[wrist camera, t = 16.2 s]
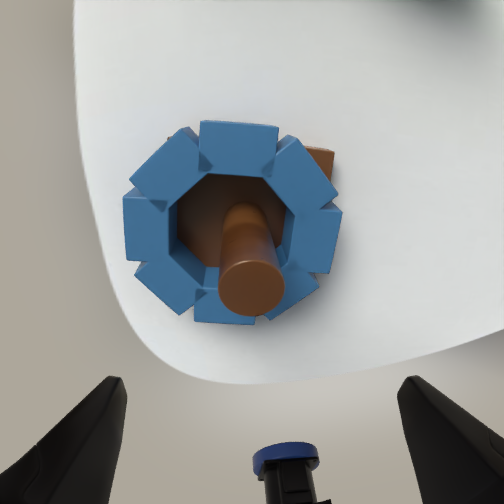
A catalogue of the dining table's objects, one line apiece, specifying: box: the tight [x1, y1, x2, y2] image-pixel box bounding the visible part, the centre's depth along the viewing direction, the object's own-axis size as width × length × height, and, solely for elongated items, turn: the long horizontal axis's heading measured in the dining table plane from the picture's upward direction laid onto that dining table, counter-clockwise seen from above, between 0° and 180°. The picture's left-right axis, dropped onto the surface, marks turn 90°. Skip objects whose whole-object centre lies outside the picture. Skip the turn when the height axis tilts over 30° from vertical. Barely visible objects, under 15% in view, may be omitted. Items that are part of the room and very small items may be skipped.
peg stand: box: [167, 136, 335, 317], centre depth 14 cm, size 9×9×8 cm
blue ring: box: [123, 120, 342, 325], centre depth 16 cm, size 11×11×2 cm
